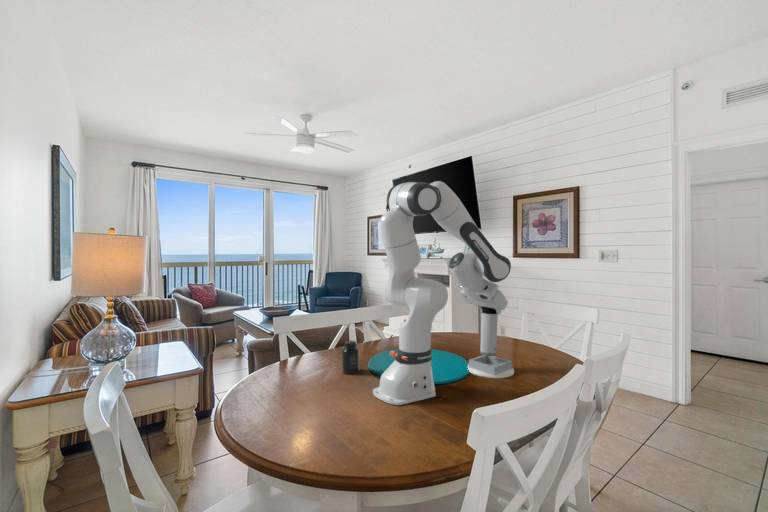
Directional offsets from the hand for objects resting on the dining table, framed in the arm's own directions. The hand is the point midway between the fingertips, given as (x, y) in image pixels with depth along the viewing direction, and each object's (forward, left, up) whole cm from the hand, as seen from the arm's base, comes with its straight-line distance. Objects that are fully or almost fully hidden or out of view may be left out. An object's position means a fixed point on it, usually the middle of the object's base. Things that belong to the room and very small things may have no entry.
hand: (491, 311), depth 145 cm
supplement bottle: (-46, +34, -24) cm, 62 cm away
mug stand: (-2, -1, -23) cm, 23 cm away
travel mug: (-2, 0, -17) cm, 17 cm away
